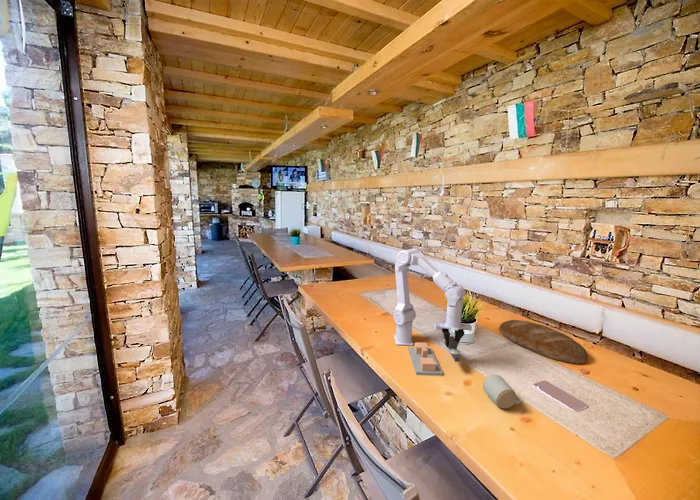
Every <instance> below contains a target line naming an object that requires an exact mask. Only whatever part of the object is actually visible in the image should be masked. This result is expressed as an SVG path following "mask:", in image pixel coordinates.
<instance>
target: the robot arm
mask: <svg viewBox="0 0 700 500" xmlns="http://www.w3.org/2000/svg"><path fill="white" fill-rule="evenodd" d="M411 266H418V267H420V268H421V269H422V270H423V271H425V272H426V273H427V274H428V275H429V276H431V278H432V280H433V281H432V282H433V283H434V284H435V285H436V286H437V287H438V288H439V289H440V290H441V291H442V292H444V296H445V297H446V303H447V304H446V314H445V317H446V318H445V322H437V323H434V324H433V325H434V326H433V328H434V330H437V331H438V330H441V331H442V333H443V334H442V335H443V337H444V338H445V343H444V345H445V347H446V348H447V347H448V346H449V337H450V336H451V333H450V330H452V331H454V338H455V339H456V341H457V347H458V346H459V343H460V341H461V339H462V338H463V337H464V336H465V331H469V332H472V330H473V329H472V328H473V326H472V325H471V324H467V323H462V315H463V312H462V311H463V301H464V300H463V299H464V297H465V296H466V294H467V292H466V289H465V287H464V286H463V284H461V283H457V282H456V281H454V280H453V279H451V277H450V276H448V275H449V274H448V273H447V272H444V271H439V270H438V269H437V268H436V267H435V266H434V265H433V264H432V263H431V262H430V261H429V259H427V258H426V257H425V256H424V253H423V252H422V251H421V250H419V249H418V248H416V247H413V248H409V249H402V250H400V251H399V252H398V253H397V254H396V262H395V263H394V272H395V283H396V284H395V286H396V293H397V295H396V296H397V298H396V299H397V305H395V308H394V313H393V320H394V322H395V324H396V325H395V334H393V338H394V342H395V345H396V346H414V343H413V339H412V335H413V322H414V320H415V319H416V315H417V314H416V311H415V309H414V305H413V304H412V303H411V300H410V297H411V296H410V287H409V286H410V285H409V275H408V274H409V273H408V269H409V268H410V267H411Z"/></svg>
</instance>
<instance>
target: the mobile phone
mask: <svg viewBox="0 0 700 500" xmlns="http://www.w3.org/2000/svg"><path fill="white" fill-rule="evenodd" d="M532 387H533V388H534V389H535V390H538V392H540V391H541V393H542V394H544V395H546V396H547V397H549V398H551V400H554V401H555V402H556V403H558V402H559V403H558V404H560V405H562V406H563V405H564V406H563V407H565V408H567V409H568V408H569V410H570V409H571V410H573V411H572V412H574V411H579V410H581V411H583V410H585V409H584V408H586V409H588V408H587V407H589V405H588V404H587V403H585V402H584V401H582V400H580V399H578V397H575V396H574V395H572V394H570V393H568V392H567V391H565V390H563V389H561V388H559V387H558V386H556V385H554V384H553V383H550V382H549V381H547V380H541V381H538V382H535V383H532ZM582 409H583V410H582ZM571 410H570V411H571ZM579 412H580V411H579Z"/></svg>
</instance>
